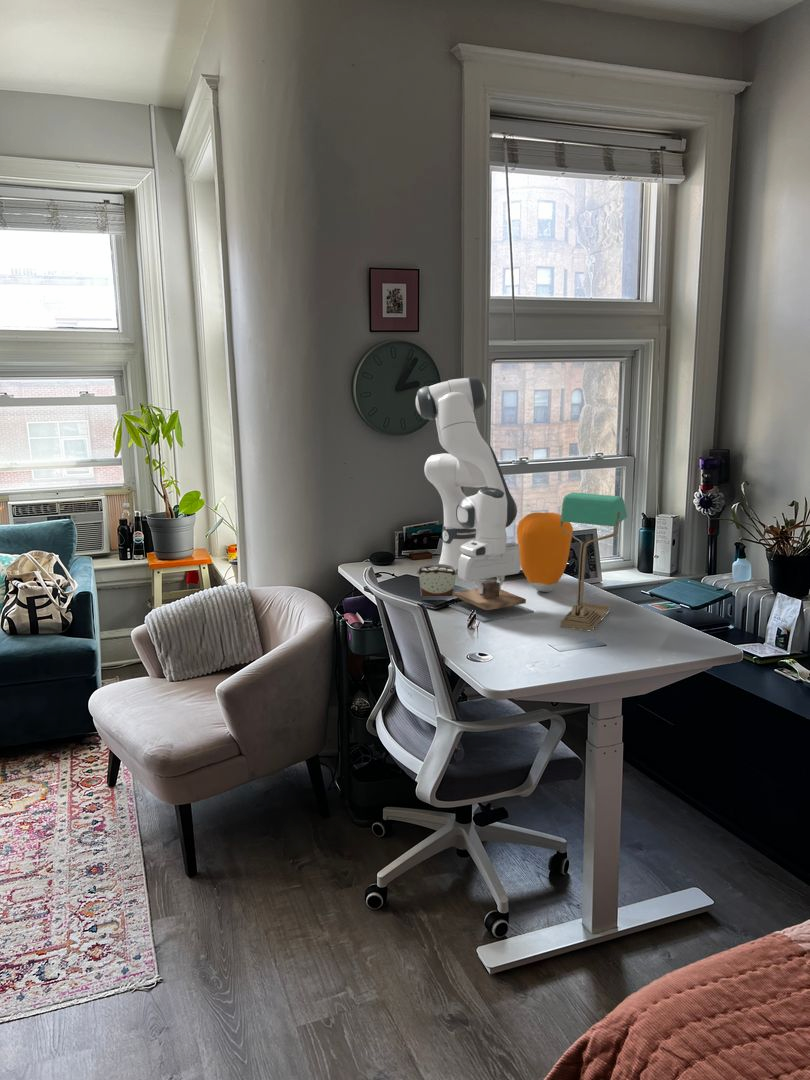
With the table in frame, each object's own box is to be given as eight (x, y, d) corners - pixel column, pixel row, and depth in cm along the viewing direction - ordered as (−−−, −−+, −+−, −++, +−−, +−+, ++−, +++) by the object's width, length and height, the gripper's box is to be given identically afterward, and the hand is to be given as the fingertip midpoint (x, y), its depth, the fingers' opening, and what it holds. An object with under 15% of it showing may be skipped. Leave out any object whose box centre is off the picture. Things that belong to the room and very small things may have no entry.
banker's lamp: (547, 624, 223) (553, 499, 215) (569, 604, 241) (575, 487, 233) (604, 633, 216) (612, 504, 208) (623, 612, 234) (631, 492, 226)
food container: (458, 595, 250) (458, 564, 248) (457, 601, 244) (458, 569, 242) (418, 594, 251) (418, 562, 249) (416, 600, 245) (416, 568, 243)
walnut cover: (492, 589, 246) (492, 573, 245) (525, 603, 233) (526, 585, 232) (453, 596, 239) (454, 579, 238) (486, 610, 226) (486, 592, 225)
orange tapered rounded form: (505, 586, 260) (507, 509, 254) (551, 581, 266) (555, 506, 260) (532, 601, 244) (535, 520, 238) (580, 596, 250) (585, 516, 244)
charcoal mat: (495, 596, 249) (495, 595, 249) (533, 612, 234) (533, 610, 234) (446, 605, 240) (446, 604, 240) (483, 622, 225) (483, 621, 225)
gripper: (512, 539, 241) (511, 584, 244) (455, 547, 230) (454, 594, 233) (526, 543, 235) (524, 589, 238) (468, 551, 225) (467, 599, 228)
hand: (489, 591), depth 236 cm, fingers closed on walnut cover, 4 cm apart
